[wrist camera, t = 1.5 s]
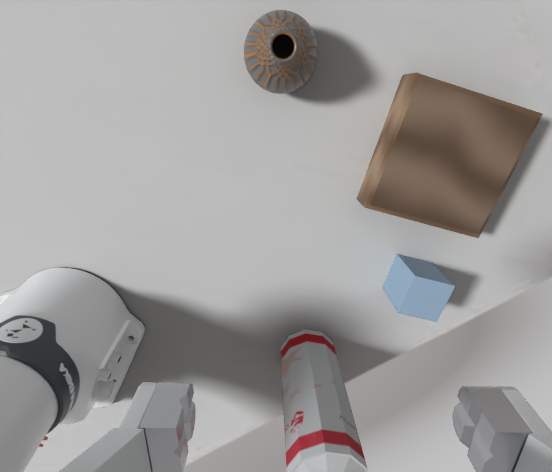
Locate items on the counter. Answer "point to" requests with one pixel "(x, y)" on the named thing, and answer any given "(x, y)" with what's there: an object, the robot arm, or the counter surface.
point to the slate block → (417, 288)
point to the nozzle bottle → (317, 408)
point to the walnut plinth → (445, 154)
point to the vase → (280, 51)
